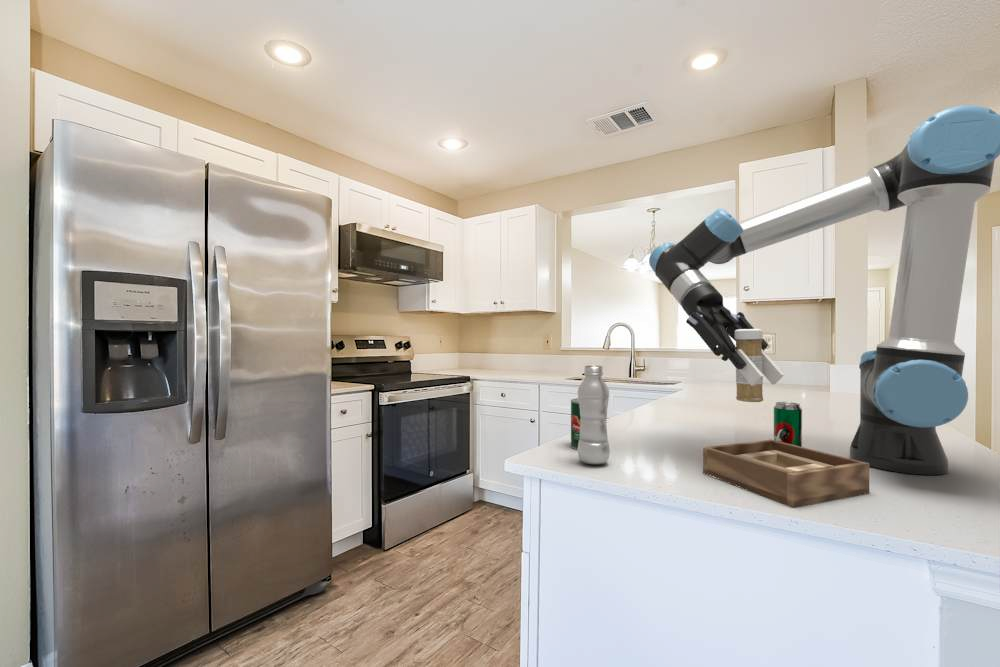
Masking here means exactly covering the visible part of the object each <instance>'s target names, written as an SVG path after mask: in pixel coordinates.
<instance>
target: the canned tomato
mask: <svg viewBox="0 0 1000 667" xmlns="http://www.w3.org/2000/svg"><path fill="white" fill-rule="evenodd" d="M580 419H581V417H580V407H579V400H578V397H576V398H572V399H570V444H571V445H570V447H571V448H572V449H573V450H578V443H579V440H580V439H579V438H580V425H581V422H580Z"/></svg>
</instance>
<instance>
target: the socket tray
mask: <svg viewBox="0 0 1000 667" xmlns="http://www.w3.org/2000/svg"><path fill="white" fill-rule="evenodd" d="M703 473H705V474H704V475H706V474H708V475H711V476H714V477H716V478H719V479H721V480H724V481H726V482H725V483H727V482H729V483H731V484H730V485H732V484H734V485H733V486H735V485H737V486H740V487H742V488H741V489H743V488H744V489H743V490H745V489H747V490H746V491H748V490H749V491H748V492H751V491H752V492H751V493H753V492H754V494H756V493H757V494H756V495H758V494H759V495H758V496H761V497H764V498H766V497H767V499H769V500H772V501H775V502H778V503H779V504H782V505H785V506H787V507H791V508H799V506H800V507H804V505H805V506H809V504H810V505H814V503H815V504H819V502H821V503H825V502H824V501H826V502H831V501H835V500H834V499H836V500H841V499H840V498H842V499H846V498H845V497H847V498H851V497H850V496H852V497H856V496H855V495H857V496H860V495H859V494H862V495H865V494H864V493H868V494H870V466H869V463H866V462H862V461H857V460H853V459H851V458H850V457H849V458H848V457H845V456H841V455H836V454H834V453H833V454H832V453H828V452H826V451H825V452H824V451H820V450H816V449H811V448H807V447H804V446H802V447H800V446H796V445H792V444H787V443H783V442H779V441H775V440H774V439H765V440H757V441H747V442H746V441H745V442H740V443H737V442H736V443H730V444H721V445H713V446H712V445H711V446H710V445H709V446H705V447H704V446H703V447H702V474H703ZM708 475H707V476H708ZM711 476H710V477H711ZM716 478H715V479H716ZM719 479H718V480H719ZM721 480H720V481H721ZM724 481H723V482H724ZM729 483H728V484H729ZM737 486H736V487H737ZM740 487H739V488H740ZM830 500H831V501H830Z"/></svg>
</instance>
